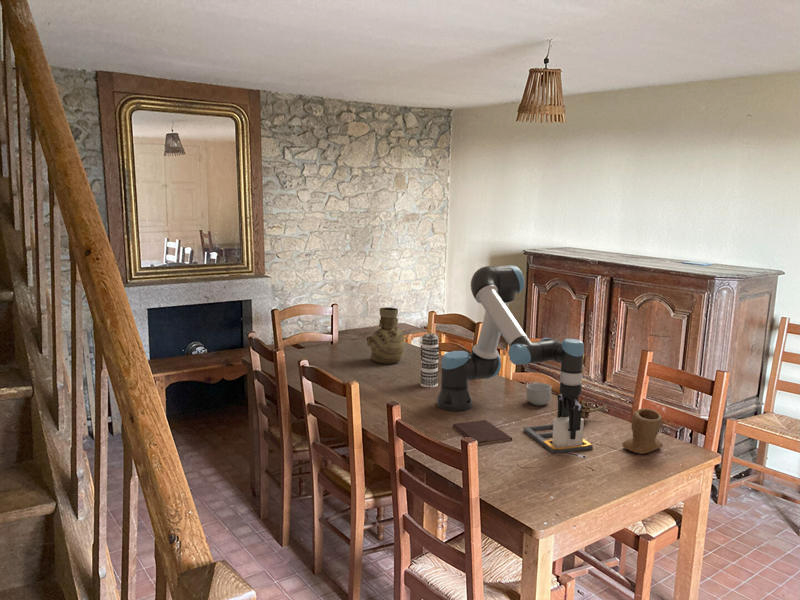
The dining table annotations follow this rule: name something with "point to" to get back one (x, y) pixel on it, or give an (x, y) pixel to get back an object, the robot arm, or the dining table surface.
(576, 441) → the panel
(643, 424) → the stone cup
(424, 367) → the decorative candle
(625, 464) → the dining table surface
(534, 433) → the frame
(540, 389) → the teacup
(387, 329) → the ceramic vessel
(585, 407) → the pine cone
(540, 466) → the dining table surface
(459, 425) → the notebook
